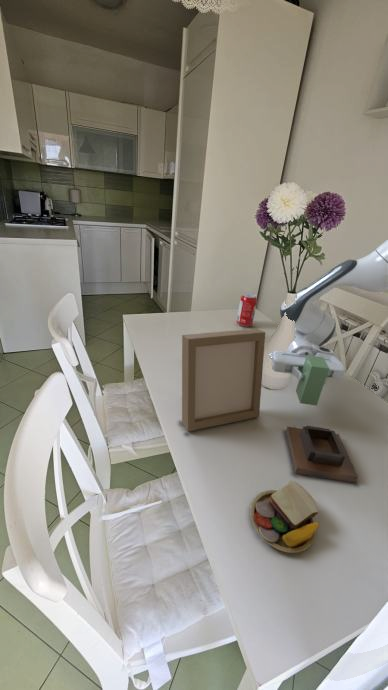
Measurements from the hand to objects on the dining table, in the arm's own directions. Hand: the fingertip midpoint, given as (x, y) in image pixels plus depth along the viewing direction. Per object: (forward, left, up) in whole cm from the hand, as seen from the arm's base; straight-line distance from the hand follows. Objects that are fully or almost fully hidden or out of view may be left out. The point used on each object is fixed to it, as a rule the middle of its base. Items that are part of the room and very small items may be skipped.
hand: (313, 380), depth 82 cm
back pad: (0, -1, -7) cm, 7 cm away
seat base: (-2, +13, -14) cm, 19 cm away
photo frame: (+25, +1, -14) cm, 29 cm away
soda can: (+13, -67, -14) cm, 70 cm away
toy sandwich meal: (+10, +32, -14) cm, 36 cm away
